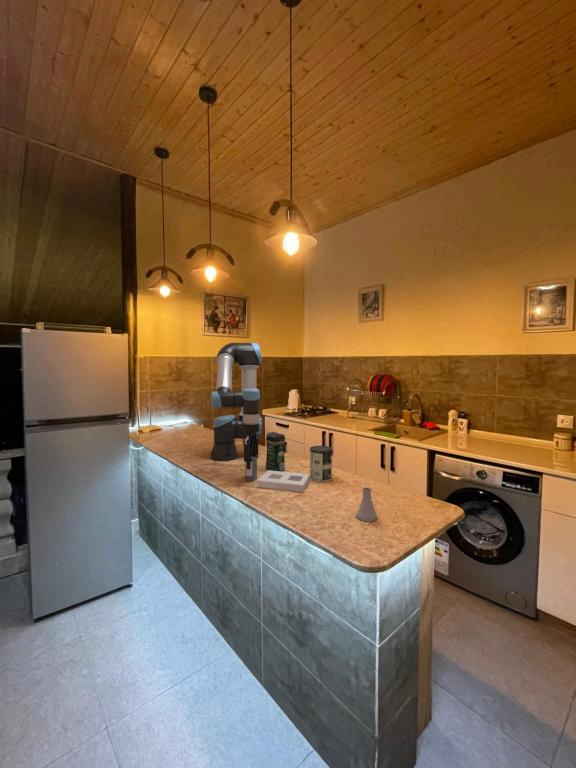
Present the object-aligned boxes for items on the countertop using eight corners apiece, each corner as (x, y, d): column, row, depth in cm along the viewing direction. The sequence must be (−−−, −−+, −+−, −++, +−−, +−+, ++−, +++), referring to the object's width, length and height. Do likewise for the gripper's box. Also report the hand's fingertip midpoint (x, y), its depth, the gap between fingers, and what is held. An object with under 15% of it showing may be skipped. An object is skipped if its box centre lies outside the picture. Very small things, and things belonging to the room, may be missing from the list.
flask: (361, 510, 118) (362, 483, 117) (380, 516, 113) (381, 488, 113) (351, 517, 112) (352, 489, 112) (371, 524, 108) (372, 494, 107)
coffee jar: (263, 468, 165) (263, 432, 164) (275, 465, 170) (275, 430, 169) (275, 473, 158) (275, 435, 157) (287, 470, 163) (287, 433, 162)
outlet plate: (268, 476, 153) (268, 469, 153) (309, 480, 148) (310, 473, 148) (257, 487, 140) (257, 479, 140) (302, 492, 134) (302, 484, 134)
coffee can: (330, 474, 157) (331, 445, 156) (333, 482, 146) (333, 451, 146) (309, 474, 157) (309, 445, 156) (310, 482, 147) (310, 451, 146)
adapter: (248, 477, 152) (248, 456, 151) (257, 478, 151) (257, 456, 150) (245, 480, 148) (245, 458, 147) (253, 481, 147) (253, 459, 146)
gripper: (251, 426, 138) (251, 481, 140) (265, 420, 155) (265, 469, 156) (235, 425, 140) (235, 479, 142) (250, 419, 157) (250, 467, 158)
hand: (251, 473), depth 149 cm, fingers closed on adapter, 4 cm apart
